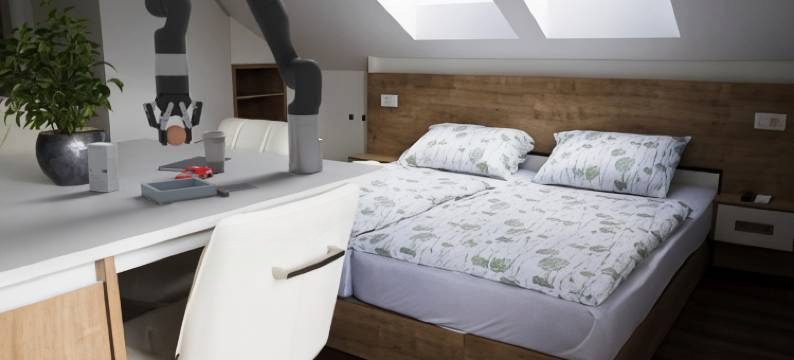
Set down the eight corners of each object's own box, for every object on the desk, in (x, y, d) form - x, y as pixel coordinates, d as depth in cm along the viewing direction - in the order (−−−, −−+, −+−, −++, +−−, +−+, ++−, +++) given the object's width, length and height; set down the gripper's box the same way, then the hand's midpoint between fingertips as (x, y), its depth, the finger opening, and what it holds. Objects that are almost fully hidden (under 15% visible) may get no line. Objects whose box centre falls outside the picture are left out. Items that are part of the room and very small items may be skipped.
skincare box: (88, 191, 162) (84, 144, 159) (101, 187, 166) (98, 141, 164) (108, 193, 160) (104, 145, 158) (121, 189, 164) (117, 142, 162)
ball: (182, 143, 158) (181, 123, 157) (189, 146, 154) (188, 125, 153) (162, 145, 155) (160, 124, 154) (169, 147, 151) (168, 126, 150)
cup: (221, 169, 194) (219, 130, 192) (232, 172, 189) (230, 132, 187) (199, 172, 189) (197, 131, 187) (210, 175, 184) (208, 134, 182)
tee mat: (245, 184, 172) (245, 182, 172) (258, 189, 166) (258, 187, 166) (217, 187, 167) (217, 186, 167) (229, 193, 161) (229, 191, 161)
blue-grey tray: (196, 188, 166) (196, 177, 165) (216, 197, 156) (216, 185, 156) (141, 195, 157) (140, 183, 157) (159, 205, 148) (158, 192, 147)
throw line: (200, 185, 169) (200, 180, 169) (229, 197, 155) (229, 192, 155) (196, 186, 169) (196, 181, 168) (224, 198, 155) (224, 192, 154)
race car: (187, 187, 169) (186, 172, 168) (170, 185, 171) (169, 171, 170) (216, 178, 181) (216, 164, 181) (201, 177, 183) (200, 163, 182)
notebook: (198, 160, 213) (158, 171, 193) (198, 156, 212) (158, 166, 192) (232, 162, 209) (195, 173, 189) (232, 158, 209) (195, 168, 189)
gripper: (195, 72, 158) (198, 140, 162) (135, 73, 150) (140, 145, 153) (207, 73, 153) (210, 144, 156) (146, 74, 144) (150, 148, 147)
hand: (175, 144), depth 154 cm, fingers closed on ball, 5 cm apart
